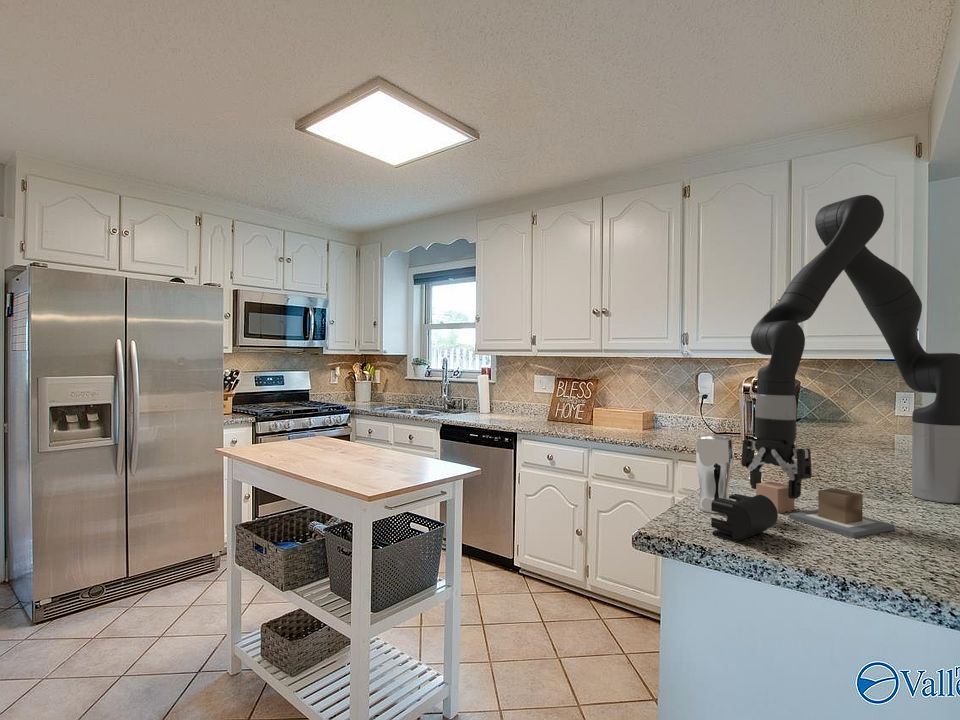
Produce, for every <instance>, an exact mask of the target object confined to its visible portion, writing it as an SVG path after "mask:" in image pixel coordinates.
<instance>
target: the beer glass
mask: <svg viewBox="0 0 960 720" xmlns="http://www.w3.org/2000/svg"><path fill="white" fill-rule="evenodd" d="M696 440H697V441H696V447H695V448H696V449H695V464H696V472H697V476H698V483H699V490H700V491H699V499H698V503H697V508H698V510H699V511H702V512H705V513H710V514H716V515H717V514H718V515H721V514H722V513H718V512H714V511H711V504H712V501H713V500H715V499H719V498H723V499H728V500H729V487H730V482H731V478H732V477H731V476H732V471H733V463H734V462H733V460H734V459H733V458H734V456H733V443H732V442H733V439H732V438H731V437H729V436H723V435H713V434H711V435H710V434H709V435H707V434H705V435H704V434H703V435H698V436H697V439H696Z"/></svg>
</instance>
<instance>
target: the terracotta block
mask: <svg viewBox="0 0 960 720" xmlns="http://www.w3.org/2000/svg"><path fill="white" fill-rule="evenodd" d="M757 495H763V496H765V497H767V498H769V499H770V500H771V501H772V502H773V503H774V505H775V506H776V509H777V512H782V513H786V512H785V511H788V512H792V511H791V510H794V511H795V499H791V498H789V497H788V484H783V483H779V482H775V481H769V482H761V483H757V484H756V489H755V496H757Z"/></svg>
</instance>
